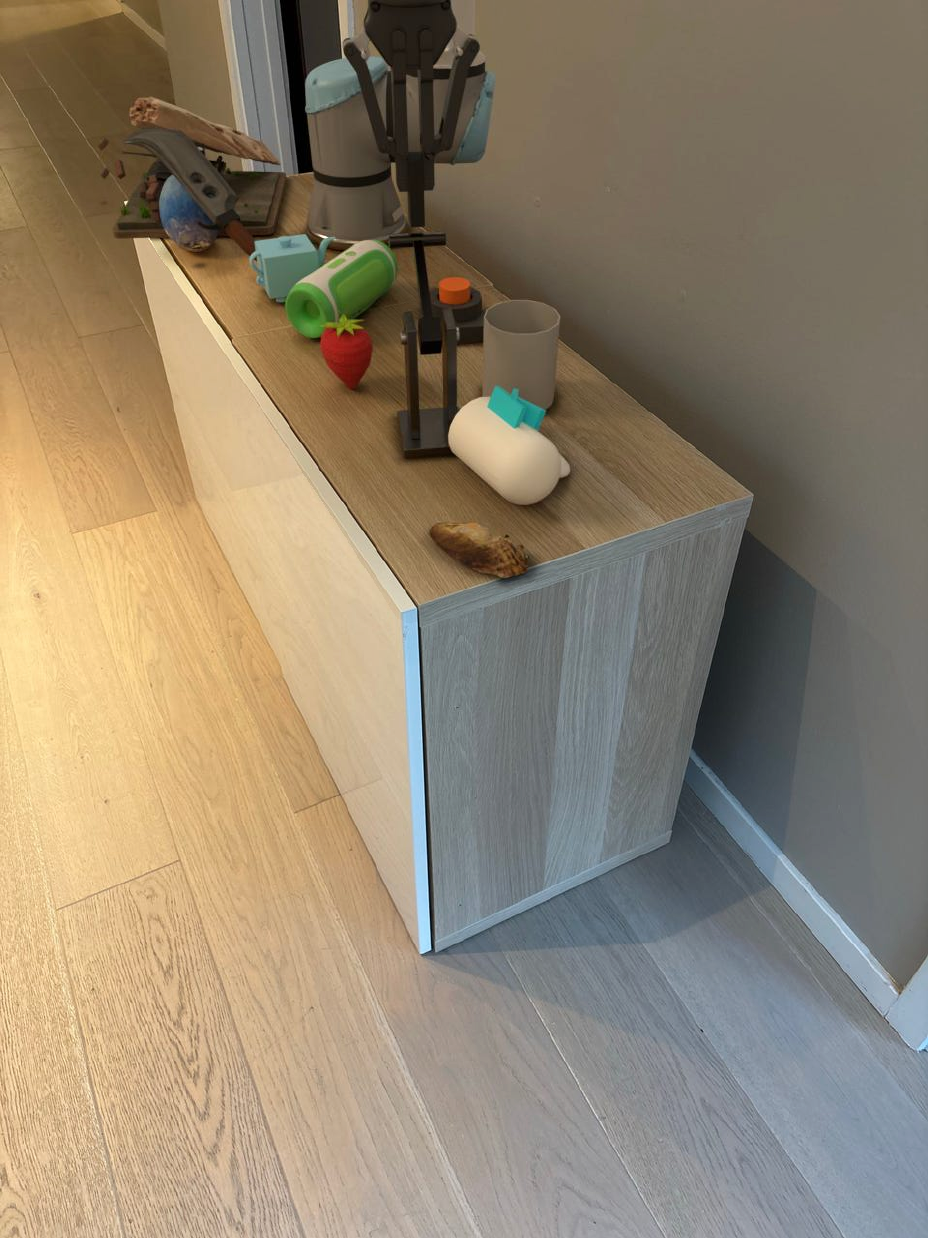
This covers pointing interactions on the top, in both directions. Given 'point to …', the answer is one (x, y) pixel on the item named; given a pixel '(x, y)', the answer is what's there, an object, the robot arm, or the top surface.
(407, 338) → the bracket
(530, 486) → the white handled jug
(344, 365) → the strawberry
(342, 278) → the speaker
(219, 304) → the top surface
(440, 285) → the button
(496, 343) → the cup
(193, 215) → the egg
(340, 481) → the top surface
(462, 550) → the oyster shell
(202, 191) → the knife
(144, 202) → the tank diorama
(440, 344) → the lever
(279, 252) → the teapot
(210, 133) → the broken wood plank
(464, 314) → the control block
